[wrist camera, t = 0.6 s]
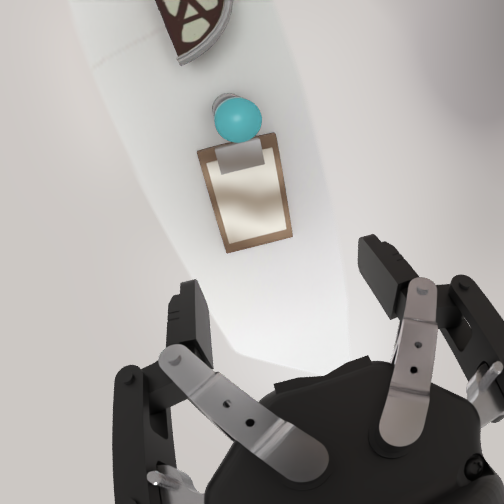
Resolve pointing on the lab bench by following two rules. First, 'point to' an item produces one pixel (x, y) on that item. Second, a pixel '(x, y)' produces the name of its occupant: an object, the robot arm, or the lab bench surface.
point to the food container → (194, 24)
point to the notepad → (247, 192)
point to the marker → (236, 118)
